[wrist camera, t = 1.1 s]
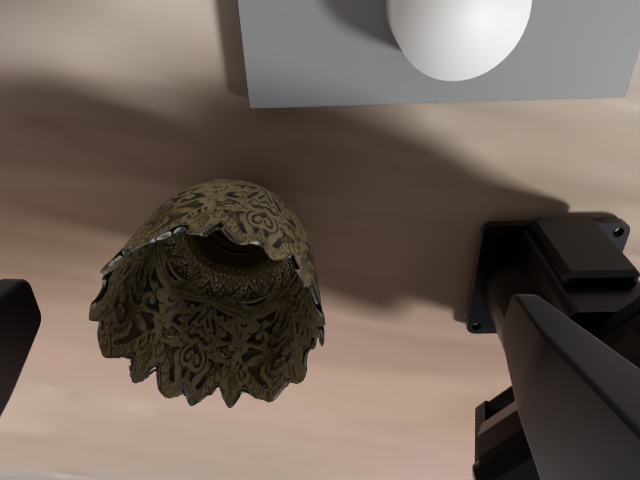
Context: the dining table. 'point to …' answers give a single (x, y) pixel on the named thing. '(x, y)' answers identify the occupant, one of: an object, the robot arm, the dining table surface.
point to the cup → (214, 295)
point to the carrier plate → (387, 77)
